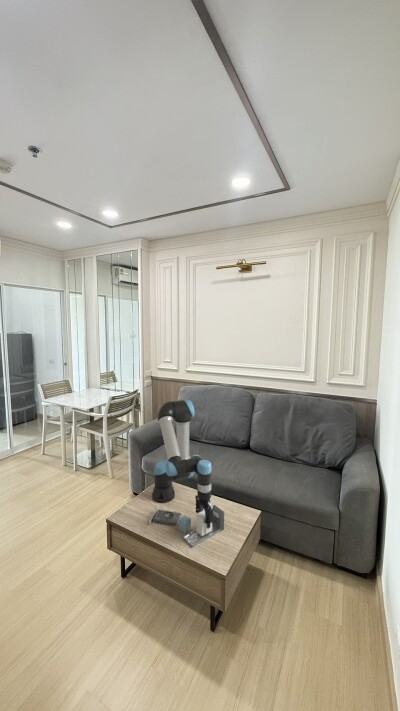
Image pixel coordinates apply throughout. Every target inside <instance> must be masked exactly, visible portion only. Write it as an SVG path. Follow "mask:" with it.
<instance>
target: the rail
mask: <svg viewBox="0 0 400 711" xmlns="http://www.w3.org/2000/svg"><path fill="white" fill-rule="evenodd" d="M213 505H214V508H213V522H212V531H210V532H209V533H207V534H205V535H203V536H201V535H200V534H199V533H198V532H197V531H196V529H194V530H192V531H191V532H189V533H186V534H184V535H183V540H185V542H186V543H187V544H189V546H190V547H191V548H192V549H193V548H195V547H196V546H198V545H199V544H201V543H203V542H205V541H206V540H208V539H210V538H211V537H213V536H215V535H217V534H218V533H221V531H224V530H225V512H224V510H222V509H221V508H219V507H218V506H217V505H215V504H213Z"/></svg>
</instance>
